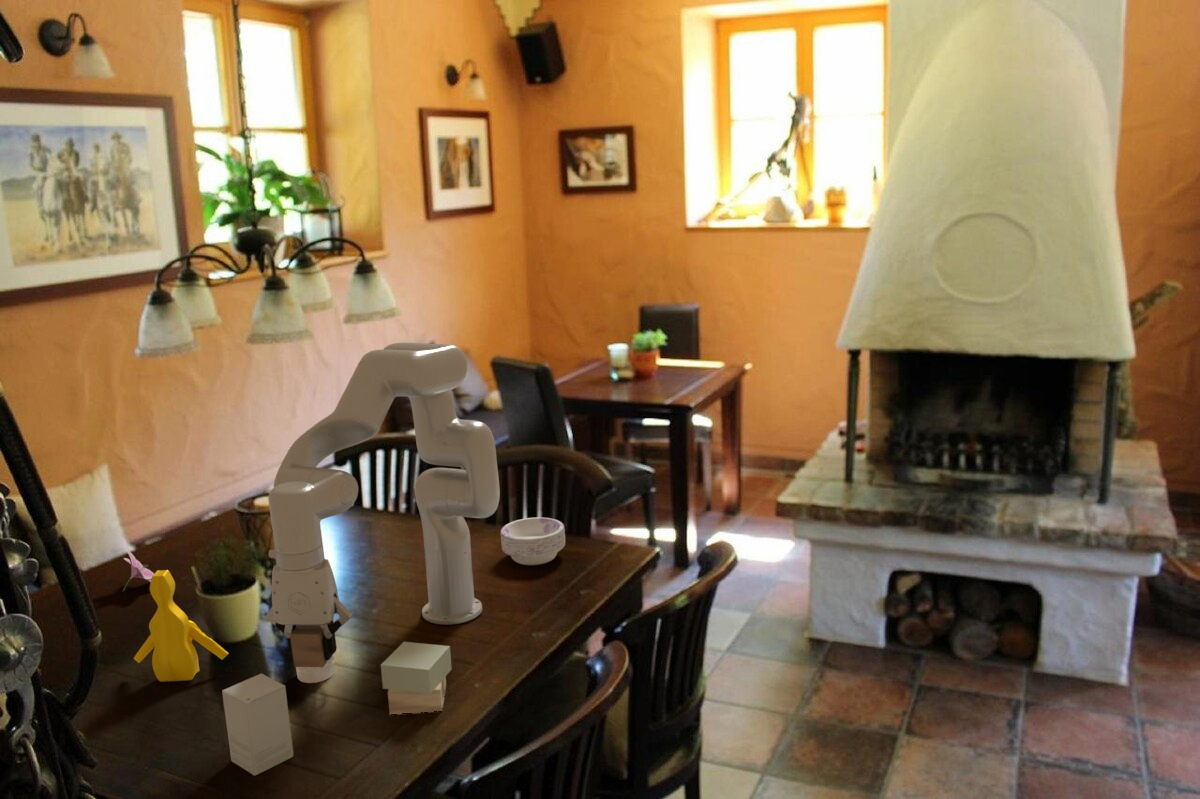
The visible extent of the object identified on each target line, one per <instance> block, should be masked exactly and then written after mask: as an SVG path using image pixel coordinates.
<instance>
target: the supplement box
mask: <svg viewBox="0 0 1200 799" xmlns="http://www.w3.org/2000/svg"><path fill="white" fill-rule="evenodd" d="M286 689H287V688H286V685H285V684H283V683H281V682H279V681H277V680H275V679H273V678H272V677H269V676H267V675H265V674H264V673H259V674H257V675H254V676H252V677H250V678H247V679H245V680H243V681H241V682H238V683H236V684H234V685H231V686H230V687H227V688H225V689H222V701H223V702H222V703H223V709H224V710H223V711H224V715H225V723H226V730H227V738H228V746H229V753H230V754H229V755H230V760H231V762H232V763H234V764H235V765H237V766H238V767H240V768H241V769H243V770H244V771H247V773H249V774H251V775H252V776H257V775H260V774H261V773H263V772H265V771H268V770H270V769H271V768H273V767H276V766H278V765H279V764H281V763H283V762H286V761H287V760H290V759H291V758H293V757H294V747H293V739H292V732H291V724H290V723H291V722H290V714H289V707H288V698H287V690H286Z"/></svg>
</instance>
